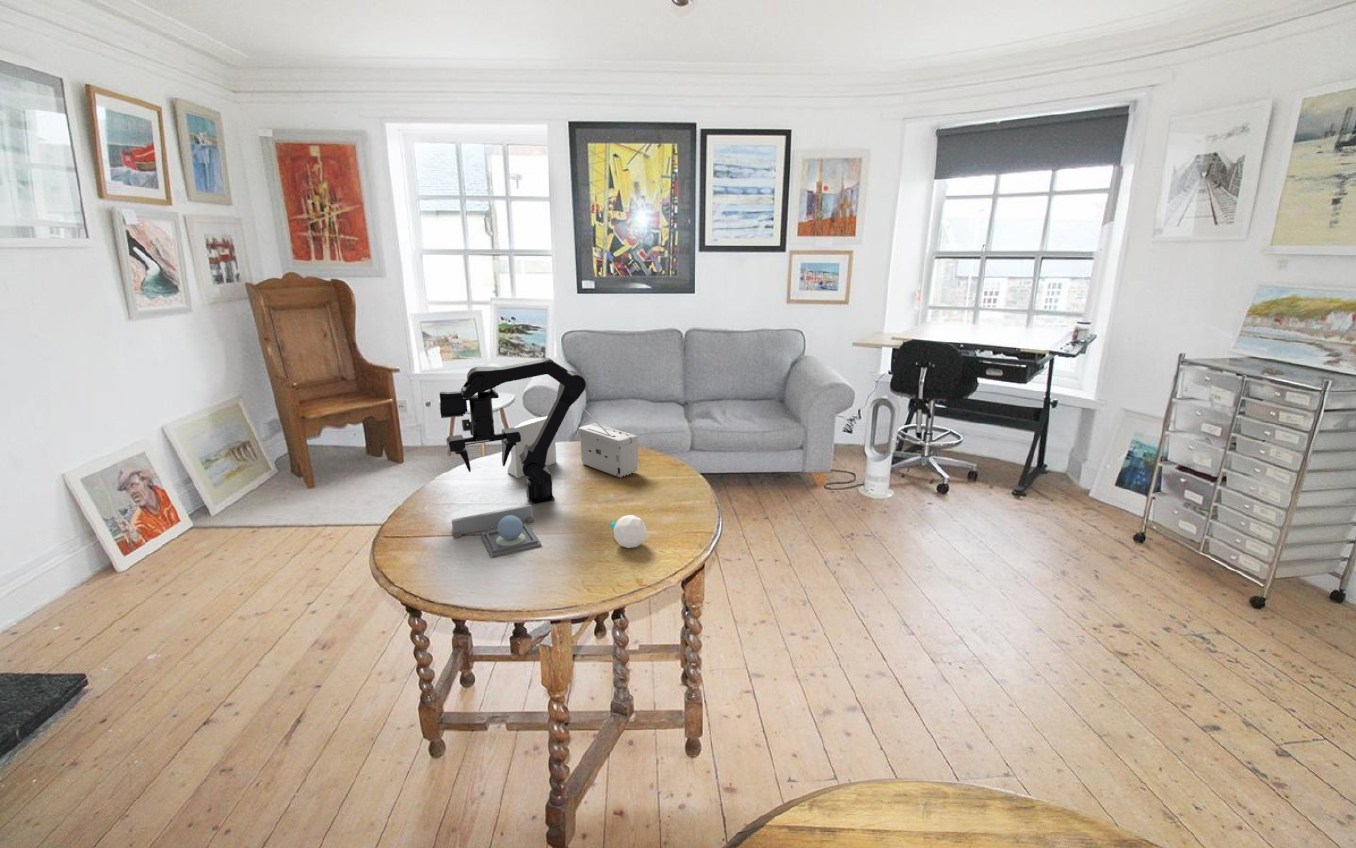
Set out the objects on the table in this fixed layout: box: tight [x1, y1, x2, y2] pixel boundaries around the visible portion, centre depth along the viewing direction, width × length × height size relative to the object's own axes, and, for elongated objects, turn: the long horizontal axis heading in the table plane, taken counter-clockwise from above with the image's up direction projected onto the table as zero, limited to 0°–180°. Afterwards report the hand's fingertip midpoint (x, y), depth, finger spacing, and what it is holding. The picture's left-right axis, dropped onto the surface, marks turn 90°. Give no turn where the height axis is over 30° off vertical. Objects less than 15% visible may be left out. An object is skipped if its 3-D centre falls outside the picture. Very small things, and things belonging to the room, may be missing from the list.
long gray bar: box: [451, 503, 535, 539], centre depth 154 cm, size 20×4×4 cm, turn 119°
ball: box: [497, 515, 524, 540], centre depth 146 cm, size 6×6×6 cm
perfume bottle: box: [610, 514, 647, 549], centre depth 146 cm, size 8×8×12 cm
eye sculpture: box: [507, 415, 557, 479], centre depth 194 cm, size 17×12×16 cm
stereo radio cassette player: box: [578, 407, 639, 479], centre depth 192 cm, size 21×8×20 cm, turn 49°
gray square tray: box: [480, 523, 542, 558], centre depth 147 cm, size 12×12×1 cm
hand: (486, 468), depth 164 cm, fingers open, 9 cm apart
